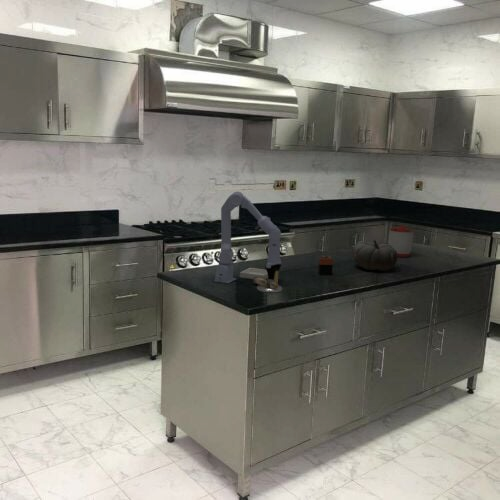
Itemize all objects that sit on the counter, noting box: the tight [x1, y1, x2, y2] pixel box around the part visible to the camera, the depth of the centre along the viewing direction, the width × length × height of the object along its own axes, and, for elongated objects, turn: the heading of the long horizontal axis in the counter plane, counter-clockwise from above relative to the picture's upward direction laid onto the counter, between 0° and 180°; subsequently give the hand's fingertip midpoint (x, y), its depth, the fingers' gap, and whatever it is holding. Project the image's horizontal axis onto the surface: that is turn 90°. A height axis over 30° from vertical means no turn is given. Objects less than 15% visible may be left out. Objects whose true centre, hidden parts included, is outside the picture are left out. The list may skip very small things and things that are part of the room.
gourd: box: [352, 239, 399, 272], centre depth 308 cm, size 25×25×17 cm
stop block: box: [267, 270, 279, 284], centre depth 268 cm, size 4×4×6 cm
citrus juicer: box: [387, 224, 416, 258], centre depth 348 cm, size 16×17×20 cm
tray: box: [239, 267, 268, 280], centre depth 280 cm, size 13×13×2 cm
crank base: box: [256, 284, 283, 293], centre depth 257 cm, size 12×12×1 cm
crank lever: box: [252, 277, 279, 289], centre depth 258 cm, size 16×3×3 cm, turn 42°
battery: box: [318, 255, 334, 276], centre depth 290 cm, size 4×7×10 cm, turn 92°
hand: (272, 279), depth 268 cm, fingers closed on stop block, 4 cm apart
